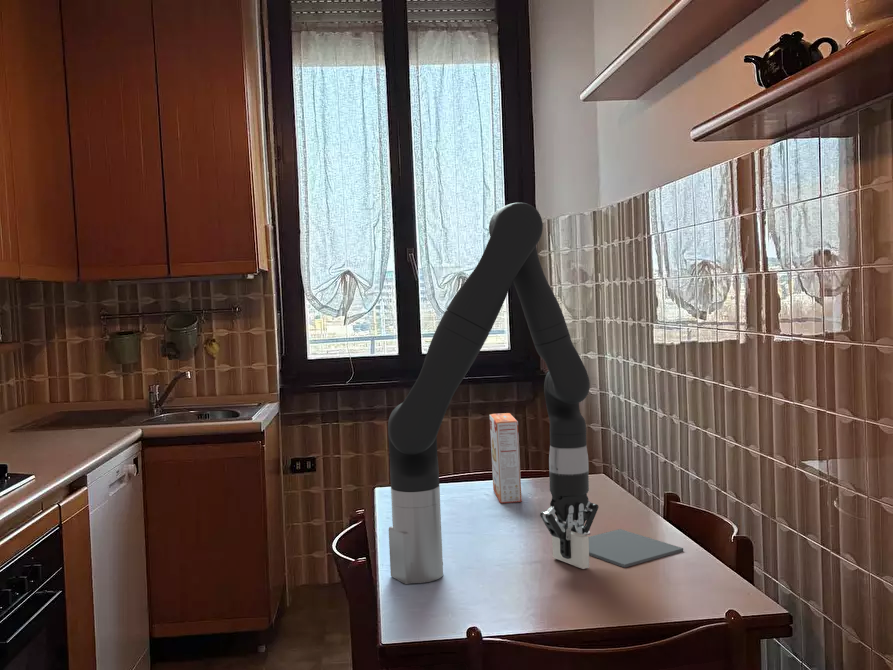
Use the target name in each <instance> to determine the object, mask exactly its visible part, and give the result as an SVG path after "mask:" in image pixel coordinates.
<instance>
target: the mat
mask: <svg viewBox="0 0 893 670" xmlns="http://www.w3.org/2000/svg"><path fill="white" fill-rule="evenodd" d="M682 552H684V547H681V546H677V545H674V544H671V543H667V542H665V541H662V540H658V539H655V538H651V537H648V536H644V535H641V534H638V533H635V532H631V531H628V530H624V529H622V528H619V529H614V530H610V531H606V532H602V533H598V534H594V535H590V536H589V557H594V558H597V559H599V560H602V561H604V562H608V563H610V564H613V565H616V566H619V567H622V568H624V569H625V568H628V567H631V566H635V565H639V564H642V563H646V562H651V561H653V560H658V559H661V558H664V557H668V556H670V555H675V554H678V553H682Z"/></svg>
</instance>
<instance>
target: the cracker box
mask: <svg viewBox="0 0 893 670" xmlns="http://www.w3.org/2000/svg"><path fill="white" fill-rule="evenodd" d="M489 428H490V432H489V433H490V447H491V448H490V451H491V452H490V453H491V465H492V467H491V469H492V487H493V488H492V489H493V492H494V494H495V496H496V497H497V499H498V502H499V503H500V504H511V503H521V502H522V500H523V498H522V480H521V459H520V458H521V457H520V442H519V441H520V436H519V421H518V420H517V419H516V418H515V417H514V416H513V415H512V414H511V413H510V412H506V413H505V412H504V413H490V414H489Z"/></svg>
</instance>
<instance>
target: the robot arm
mask: <svg viewBox="0 0 893 670" xmlns="http://www.w3.org/2000/svg"><path fill="white" fill-rule="evenodd" d="M543 227H544V225H543V219H542V216H541V214H540V212H539V211H538V209H536V207H535V206H533V205H531V204H529V203H526V202H513V203H509V204H506V205H504V206H502V207H500V208H498V209H497V210H496V211H494V213H493V215H492V216H491V218H490V221H489V225H488V233H489V239H488V242H487V244H486V246H485V249H484V251H483V253H482V254H481V257H480V258H479V261H478V263H477V265H476V266H475V268H474V269H473V271H472V272H471V273H470V275H468V277H467V278H466V280H465V281H464V282H463V284H462V285H461V286H460V288H459V289H458V291H456V293H455V295H454V296H453V298H452V299H451V301H450V302H449V304H448V306H447V307H446V310H444V311H445V312H443V316H442V317H441V319H440V321H439V322H438V325H437V327H436V329H435V331H434V334H433V336H432V339H431V341H430V344H429V346H428V349H427V352H426V354H425V357H424V362H423V363H422V368H421V370H420V373H419V375H418V377H417V379H416V380H415V382H414V384H413V386H412V387H411V389H410V391H409V393H407V396H406V397H405V399H404V401H403V402H401V403H400V404H398V405H397V406H395V407H394V409H392V411H391V413H390V415H389V417H388V420H387V422H388V423H387V435H388V450H389V451H388V453H389V474H390V475H389V478H390V494H391V495H390V496H391V497H390V498H391V517H392V526H389V527H388V540H389V541H388V543H389V544H388V546H389V567H390V577H392V578H394V579H395V580H396V581H399V582H401V583H402V584H405V585H409V584H424V583H430V582H434V581H436V580H439V579H441V578H442V577H443V575H444V559H443V539H442V538H443V537H442V536H443V535H442V514H441V492H440V491H441V489H440V486H441V485H440V472H439V471H440V470H439V458H438V441H437V440H438V437H437V436H438V434H439V431H440V427H441V425H442V423H443V420H444V417H445V414H446V413H447V410H448V408H449V406H450V402H451V400H452V398H453V396H454V394H455V392H456V391H457V389H458V387H459V386H460V384H461V383H462V381H463V380H464V378H465V377H466V375H467V374H468V372H469V370H470V368H471V367H472V366H473V364H474V362H475V361H476V359H477V356H478V355H479V353H480V352H481V350H482V348H483V346H484V345H485V342H486V340H487V339H488V337H489V335H490V332H491V331H492V329H493V327H494V326H495V325H494V324H495V322H496V320H497V318H498V316H499V314H500V312H501V309H502V308H503V305H504V303H505V300H506V298H507V296H508V294H509V291H510V289H511V286H512V284H513V285H514V288H515V290H516V293H517V296H518V299H519V302H520V304H521V309H522V311H523V314H524V318H525V321H526V324H527V327H528V330H529V332H530V333H529V334H530V336H531V339H532V342H533V345H534V348H535V350H536V353H537V354H538V356H539V357H540V358H541V359H542V360H543V361H544V362H545V365H546V367H547V370H548V371H547V373H546V375H545V376H544V377H545V378H544V383H543V384H544V385H543V389H544V390H543V391H544V393H543V394H544V398H545V399H544V400H545V406H546V411H547V415H548V420H549V453H548V454H549V455H548V469H549V472H548V474H549V492H550V494H551V499H550V502H549V504H550V507H549V508H548V509H547V510H546V511H544V510H543V511H541V512H540V514H539V516H540V519H541V520H542V521H543V524H544V525H545V526H546V528H547V530H548V532H549V534H550V535H551V537H552V536H554V537H557V538H559V539H560V553H561V555H562V557H564V558H566V559H570V558H571V540H570V539H571V531H574V532H577V533H580V534H584V533H588V532H589V531H590V529H591V527H592V525H593V522H594V519H595V517H596V515H597V512H598V509H599V505H598V504H597V503H593V502H592V501H590V500H589V496H588V493H589V492H590V491H589V490H590V488H589V487H590V484H589V483H590V481H589V480H590V477H589V455H588V448H587V447H588V445H587V424H586V420H585V418H584V416H583V415H582V413H581V411H580V410H581V409H580V403H581V402H583V401H584V400H586V398H587V396H588V395H589V392H590V388H591V387H590V386H591V385H590V378H589V377H590V376H589V374H588V371H587V369H586V366H585V365H584V362H583V361H582V358H581V357H580V355H579V353H578V351H577V349H576V347H575V346H574V344H573V341H572V339H571V335H570V332H569V329H568V324H567V322H566V319H565V315H564V313H563V310H562V309H561V305H560V304H559V303H560V302H559V301H558V299H557V297H556V295H555V293H554V292H553V290H552V288H551V286H550V284H549V282H548V279H547V278H546V275H545V273H544V271H543V267H542V264H541V262H540V258H539V255H538V251H537V245H538V244H539V242H540V240H541V237H542V235H543ZM555 519H556V520H555ZM575 526H576V527H575ZM564 529H565V533H564Z"/></svg>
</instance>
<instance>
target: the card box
mask: <svg viewBox="0 0 893 670" xmlns="http://www.w3.org/2000/svg"><path fill="white" fill-rule="evenodd" d="M564 533H565V529H564ZM589 537H590V536H589V535H583V534H580V533H577V532H574V531H571V539H570V540H571V558H570V559H566V558H564V557H562V555H561V553H560V539H559V538H557V537H554V536H552V535H551V545H552V558H553V559H556V560H558V561H561V562H564V563H566V564H569V565H571V566H574V567H576V568H579V569H582V570H585V569H589V568H590V555H589Z"/></svg>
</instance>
